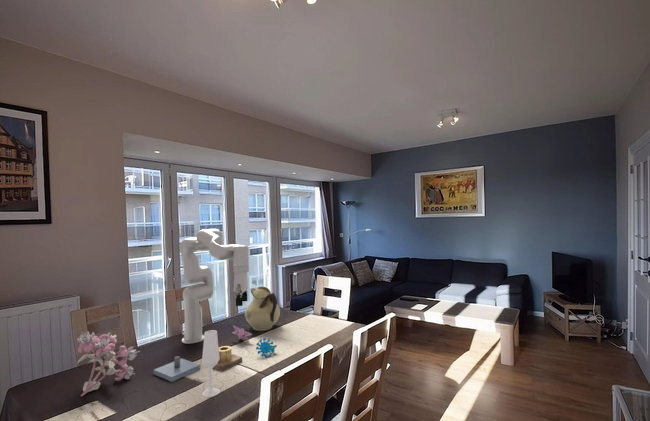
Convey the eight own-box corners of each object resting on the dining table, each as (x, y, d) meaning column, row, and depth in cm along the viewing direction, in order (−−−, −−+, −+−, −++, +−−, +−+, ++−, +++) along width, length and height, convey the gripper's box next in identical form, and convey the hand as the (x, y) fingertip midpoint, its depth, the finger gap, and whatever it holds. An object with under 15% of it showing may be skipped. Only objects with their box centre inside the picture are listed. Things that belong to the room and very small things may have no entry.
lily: (253, 345, 179) (256, 328, 184) (235, 342, 173) (238, 324, 178) (242, 347, 187) (245, 330, 192) (224, 344, 180) (227, 326, 185)
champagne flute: (202, 398, 124) (202, 335, 125) (201, 390, 130) (201, 330, 131) (220, 394, 126) (220, 333, 127) (218, 386, 133) (218, 328, 134)
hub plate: (153, 374, 145) (153, 359, 145) (181, 362, 157) (181, 349, 157) (171, 381, 137) (171, 366, 138) (199, 369, 149) (199, 354, 149)
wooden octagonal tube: (214, 360, 154) (214, 349, 154) (225, 355, 160) (225, 345, 160) (223, 363, 151) (223, 352, 151) (234, 358, 156) (234, 347, 156)
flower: (118, 397, 123) (137, 328, 135) (53, 397, 119) (78, 327, 131) (135, 395, 140) (150, 335, 152) (79, 395, 137) (99, 333, 149)
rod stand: (205, 365, 153) (205, 352, 153) (225, 356, 163) (225, 344, 164) (222, 371, 147) (222, 357, 147) (242, 361, 157) (242, 348, 157)
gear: (257, 356, 158) (255, 337, 165) (254, 362, 161) (252, 343, 168) (278, 355, 163) (276, 336, 170) (275, 360, 166) (272, 342, 173)
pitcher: (252, 321, 220) (252, 285, 221) (285, 322, 217) (285, 285, 217) (239, 333, 198) (239, 292, 198) (276, 334, 194) (276, 293, 195)
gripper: (238, 267, 171) (239, 299, 170) (228, 272, 154) (229, 308, 153) (252, 267, 171) (253, 299, 170) (244, 271, 154) (244, 307, 153)
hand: (241, 303), depth 161 cm, fingers open, 9 cm apart
